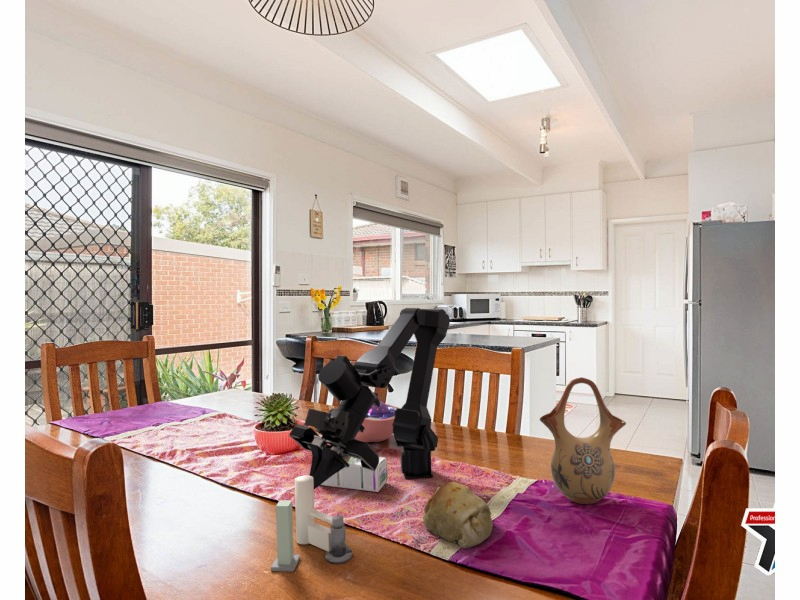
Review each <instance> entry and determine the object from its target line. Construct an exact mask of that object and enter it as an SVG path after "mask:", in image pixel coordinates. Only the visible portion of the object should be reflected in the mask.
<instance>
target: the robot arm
mask: <svg viewBox="0 0 800 600" xmlns="http://www.w3.org/2000/svg"><path fill="white" fill-rule="evenodd" d="M450 322H451V318H450V316H449V314H448V313H447V311H446V310H445V309H443V308H441V309H440V308H419V307H405V308H402V309H401V310H400V312H399V316H398V317H397V319H396V321H394V323H393V324H392V326H391V327H390V328H389V330H387V333H386V334H385V335H384V336H383V338H382V339H381V341H380V342H379V343H378V344H377V345H376V347H374V348H372V349H370V350H368V351H366V352H364V353H363V354H362V355H361V356H360V357H359V358H358V359H357V360H356V361H355V363H354V364H352V363H351V360H350V358H348V357H347V356H346V355H340V354H339V355H337V356H336V358H335V359H333V360H331V361H329V362H328V363H326V364H325V365H324V366H322V367H321V369H320V370H319V372H318V381H319V382H320V384H321V385H323V387H324V388H325V389H326V390H327V391H328V392H329V393H330V394H331V396H333V397H334V399H335V400H337V401H340V402H339V404H338V406H337V408H331V409H329V411H328V412H326V411H322V410H317V409H313V408H308V410H307V411H308V412H307V413H306V418H305V420H304V424H297V425H294V426H293V428H292V429H291V430H290V433H289V434H288V437H290V438H291V439H292V440H293V441H294V442H296V443H297V444H298V446H300V447H301V448H302V449H304V450H305V451H308V452H311V465H310V471H309V474H308V475H309V476H312V477H313V481H314V490H316V489H317V488H318V487H320V486H322V485H321V484H322V483H323V482H325V481H326V480H327V479H328V478H330V477H331V476H333V475H334V474H336V473H337V472H339V471H340V470H342V469H343V468H345V467H347V468H348V467H349V466H350V465H349V464H348V462H349V460H350V458H351V457H353V458H357V459H360V460H361V465H362V467H363V468H365V469H369V470H372V471H375V470H376V468H377V466H378V463H379V457H380V455H379V453H378V452H377V451H376V450H375V449H374V448H373V447H372V446H371V445H370V444H369V442H367V443H365V442H362V441H358V440H356V439H355V437H356V435H357V433H358V432H362V433H363V431H364V429H365V428H364V427H363V425H362V423H363V422H364V420H365V418H366V416H367V414H368V412H369V410H370V408H371V406H376V407H379V406H380V401H381V400H380V399H379V393H378V392H374V391H372V390H371V388H375V389H376V388H377V389H385V388H386V387H387V386H388V385H389V384H390V382H391V380H392V378H393V376H394V374H395V373H396V369H397V368H396V361H397V359H398V358H399V356H400V355H401V353H402V352H403V350H404V348H405V347H406V346H407V344H408V343H409V341H410V340H411V339H412V337H413V336H414V339H415V341H416V346H415V347H416V348H415V350H414V351H415V352H414V358H413V362H412V368H411V375H410V378H409V379H410V380H409V384H408V385H409V386H408V390H407V395H406V400H405V403H404V404H403V405H402V406H401V407H398V408H397V409H396V411H395V418H394V422H393V424H392V426H393V434H392V435H393V438H394V441H395V445H396V447H401V448H402V451H401V452H400V471H401V473H402V474H403V476H404V477H403V478H404V479H420V478H433V476H434V473H433V472H432V452H435V451H436V448H437V447H438V443H439V437H438V435H437V434H436V433H435V432H434V430H433V429H432V427H431V426H432V417H431V415H430V411H429V408H428V401H429V395H430V391H431V385H432V379H433V374H434V373H433V372H434V368H435V367H434V366H435V363H436V362H435V361H436V357H437V350H438V347H439V345H440V344H441V343H442V342H443V340H444V339H445V338H446V336H447V333H448V331H449V327H450V324H451V323H450ZM369 387H370V388H369ZM309 426H310V427H309ZM313 427H314V429H315V430H314V429H313ZM317 432H318V433H317ZM320 435H321V436H320Z"/></svg>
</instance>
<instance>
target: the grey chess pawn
mask: <svg viewBox="0 0 800 600" xmlns="http://www.w3.org/2000/svg"><path fill="white" fill-rule="evenodd" d="M330 529H331V551H330V552H328V551H326V550H325V551H326V552H325V553H324V554H325V556H324V559H325V561H326V562H327V563H329V564H332V565H341V564H344V563H345V564H346V563H347V562H349V561H350V560H352V557H353V550H352V548H350V547H349V546H347V536H346V535H347V533H346V532H347V531H346V524H345V523H344V525H343V526H342V527H340V528H334V527H333V525H332V524H330Z"/></svg>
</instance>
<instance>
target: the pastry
mask: <svg viewBox="0 0 800 600" xmlns="http://www.w3.org/2000/svg"><path fill="white" fill-rule="evenodd" d="M422 520H423V522H422V523H423V525H424V526H425V528H426V530H428V531H429V532H431V533H432V532H433V533H434V534H433V533H432V534H433V535H435V536H436V535H437V536H436V537H438V536H439V537H438V538H440V539H444V540H445V541H447V540H448V541H447V542H450V543H453V542H456V543H455V544H457V543H459V544H458V547H460V546H461V547H460V548H461V549H469V548H472V547H474V546H479V545H480V544H481V543H483V542H484V541H486V540H487V539H488V538H489V537H491V535H492V532H493V531H492V530H493V526H494V525H493V518H492V512H491V509H490V506H489V505H488V504H487V503H486V502H485V500H484V499H482V498H481V497H479V496H478V495H476V493H474V492H473V491H472V490H471V489H470V487H469V486H467V485H465V484H463V483H458V482H457V481H454V480H452V481H448V482H447V483H446V482H445V483H444V484H442V485H439V486H437V488H436V490H435V492H434V493H433V494H432V495H431V497H430V498H428V499H427V501H426V502H425V505H424V514H423V515H422Z"/></svg>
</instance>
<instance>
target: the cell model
mask: <svg viewBox="0 0 800 600" xmlns="http://www.w3.org/2000/svg"><path fill="white" fill-rule="evenodd" d="M379 401H380V406H379V407H376V406H371V408H370V410H369V412H368V414H367V416H366V418H365V420H364V422H363V423H362V425H363V427H364V428H365V429H364V431H363V433H362V432H358V433H357V435H356V437H355V439H354V440H358V441H362V442H365V443H370V442H371V443H380V442H383V441H387V440H388V439H390V438H391V437H392V436H393V435H394V434H393V426H392V424H393V422H394V418H395V411H396V409H397V408H399V407H398V406H394V405H391V404H387V403H385V402H383V401H381V400H379Z"/></svg>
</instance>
